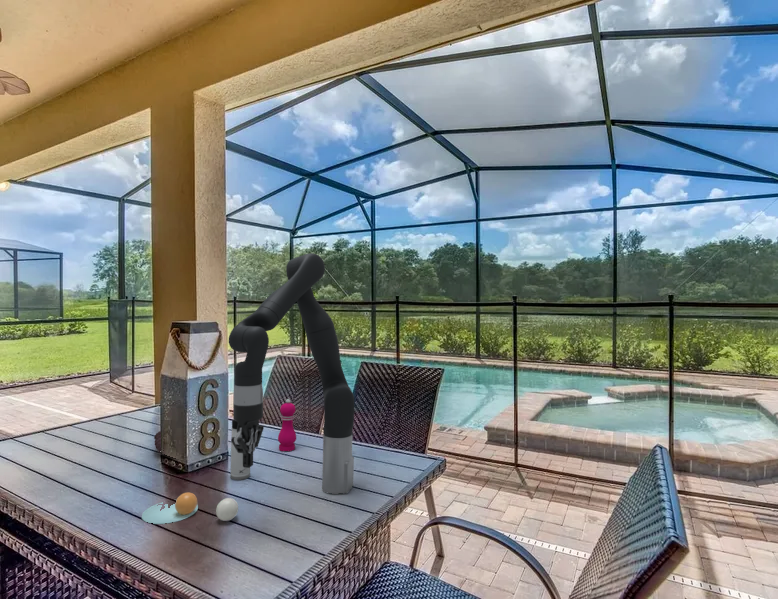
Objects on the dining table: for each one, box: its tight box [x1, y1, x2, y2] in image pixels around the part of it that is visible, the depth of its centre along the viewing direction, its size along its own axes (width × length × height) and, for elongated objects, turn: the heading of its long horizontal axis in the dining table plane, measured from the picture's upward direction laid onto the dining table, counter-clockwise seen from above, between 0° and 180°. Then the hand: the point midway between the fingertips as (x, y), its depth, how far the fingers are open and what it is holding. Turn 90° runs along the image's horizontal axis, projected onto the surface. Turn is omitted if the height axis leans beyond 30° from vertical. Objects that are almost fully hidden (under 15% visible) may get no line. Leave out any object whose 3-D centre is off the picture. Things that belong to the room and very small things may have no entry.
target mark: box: [141, 501, 199, 525], centre depth 122 cm, size 14×14×1 cm
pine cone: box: [153, 430, 162, 454], centre depth 168 cm, size 18×10×10 cm, turn 52°
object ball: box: [175, 492, 198, 515], centre depth 121 cm, size 6×6×6 cm
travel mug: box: [229, 419, 251, 481], centre depth 147 cm, size 6×7×20 cm
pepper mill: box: [277, 398, 297, 452], centre depth 176 cm, size 7×7×20 cm
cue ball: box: [215, 497, 239, 522], centre depth 118 cm, size 6×6×6 cm
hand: (248, 466), depth 117 cm, fingers closed
